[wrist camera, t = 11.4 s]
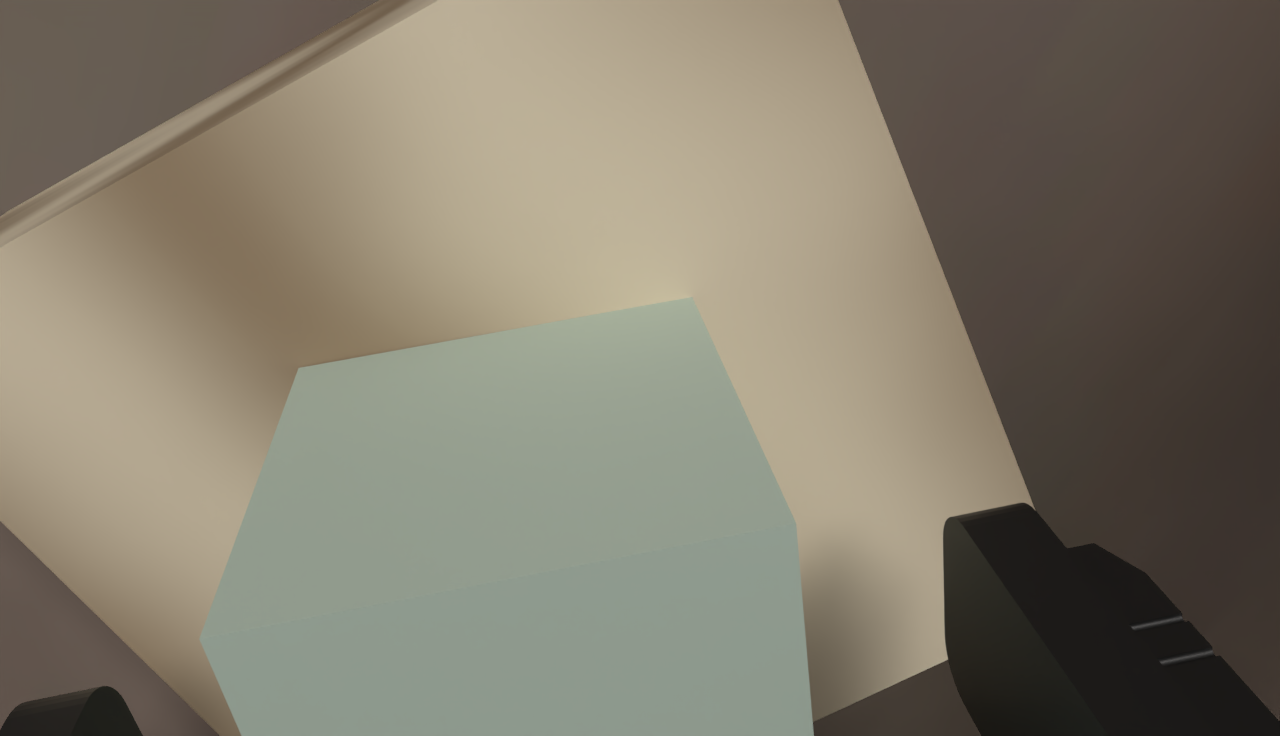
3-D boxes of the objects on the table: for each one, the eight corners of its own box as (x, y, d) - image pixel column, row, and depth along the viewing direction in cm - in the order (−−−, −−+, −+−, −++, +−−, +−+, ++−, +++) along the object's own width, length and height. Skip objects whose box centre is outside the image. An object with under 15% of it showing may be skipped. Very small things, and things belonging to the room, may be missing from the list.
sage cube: (692, 296, 12) (795, 523, 8) (730, 601, 14) (828, 904, 10) (298, 368, 12) (199, 639, 8) (397, 667, 14) (359, 1005, 10)
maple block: (681, -173, 14) (765, -185, 10) (937, 428, 19) (1070, 602, 15) (17, 203, 15) (-177, 347, 11) (421, 679, 20) (401, 912, 16)
